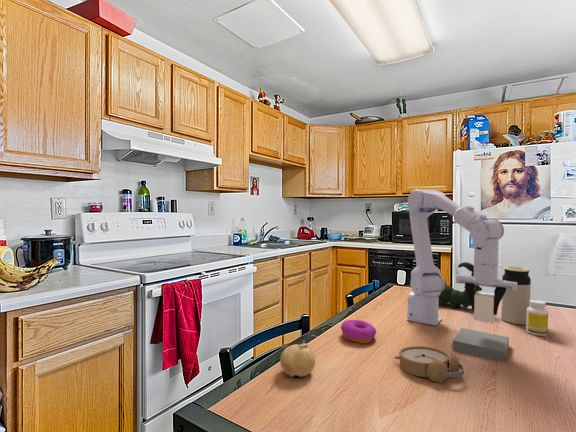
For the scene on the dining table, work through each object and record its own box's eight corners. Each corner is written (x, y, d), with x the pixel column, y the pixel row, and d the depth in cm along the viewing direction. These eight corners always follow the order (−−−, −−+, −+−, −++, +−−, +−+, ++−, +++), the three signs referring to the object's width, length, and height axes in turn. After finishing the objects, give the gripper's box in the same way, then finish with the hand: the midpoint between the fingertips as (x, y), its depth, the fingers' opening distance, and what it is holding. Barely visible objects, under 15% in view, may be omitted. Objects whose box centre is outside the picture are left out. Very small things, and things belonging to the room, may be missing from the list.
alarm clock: (416, 342, 91) (473, 353, 78) (418, 362, 90) (476, 375, 78) (388, 353, 84) (445, 366, 72) (390, 374, 84) (448, 390, 71)
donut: (368, 348, 94) (368, 331, 94) (334, 340, 99) (334, 324, 99) (380, 336, 103) (380, 321, 102) (348, 329, 108) (348, 314, 108)
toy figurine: (481, 313, 130) (418, 294, 148) (487, 264, 128) (423, 251, 146) (472, 319, 123) (407, 298, 142) (478, 267, 121) (412, 253, 140)
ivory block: (474, 319, 95) (474, 294, 95) (476, 315, 98) (477, 291, 98) (492, 323, 92) (493, 297, 92) (494, 318, 96) (495, 293, 96)
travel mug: (503, 323, 114) (505, 269, 114) (499, 316, 122) (500, 265, 121) (532, 326, 111) (534, 271, 111) (525, 319, 119) (527, 267, 118)
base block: (452, 349, 93) (452, 340, 93) (461, 336, 103) (461, 327, 103) (505, 361, 86) (505, 352, 86) (508, 346, 95) (509, 337, 95)
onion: (303, 385, 74) (304, 353, 74) (273, 375, 78) (273, 345, 78) (320, 370, 81) (320, 340, 81) (291, 362, 85) (291, 333, 85)
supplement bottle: (551, 337, 102) (552, 304, 102) (530, 335, 103) (531, 303, 103) (541, 330, 108) (542, 299, 107) (522, 329, 109) (523, 298, 108)
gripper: (454, 262, 96) (452, 310, 96) (516, 268, 87) (515, 321, 88) (458, 259, 101) (457, 305, 102) (518, 264, 93) (516, 314, 93)
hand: (484, 312), depth 95 cm, fingers closed on ivory block, 4 cm apart
